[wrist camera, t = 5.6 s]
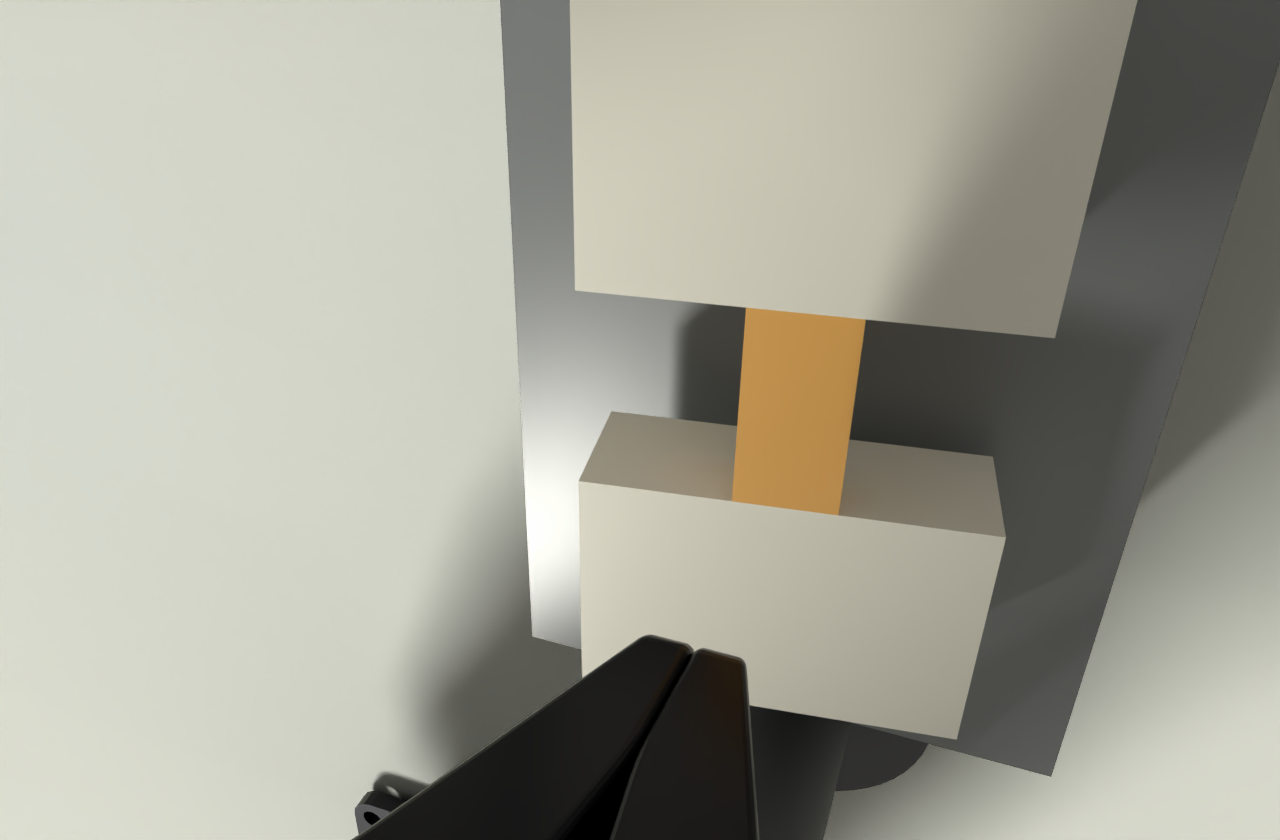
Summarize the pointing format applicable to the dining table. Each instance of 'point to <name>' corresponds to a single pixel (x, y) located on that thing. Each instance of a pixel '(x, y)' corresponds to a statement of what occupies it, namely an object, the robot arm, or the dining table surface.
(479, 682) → the dining table surface
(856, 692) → the rocker paddles
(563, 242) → the switch block
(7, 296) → the dining table surface
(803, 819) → the post
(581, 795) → the robot arm
